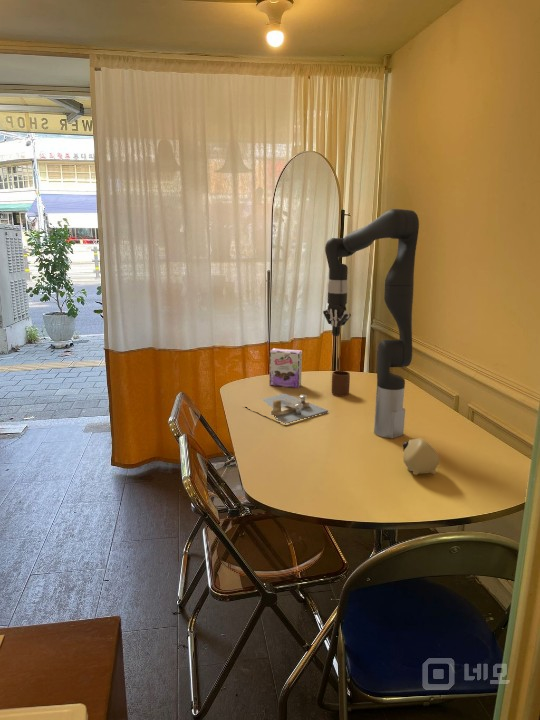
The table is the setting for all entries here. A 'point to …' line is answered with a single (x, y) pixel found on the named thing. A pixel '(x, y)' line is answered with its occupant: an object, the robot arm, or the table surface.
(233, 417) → the table surface
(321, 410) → the base plate
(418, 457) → the cream rounded piece
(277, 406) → the link
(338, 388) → the mug
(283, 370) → the candy box
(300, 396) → the keeper
